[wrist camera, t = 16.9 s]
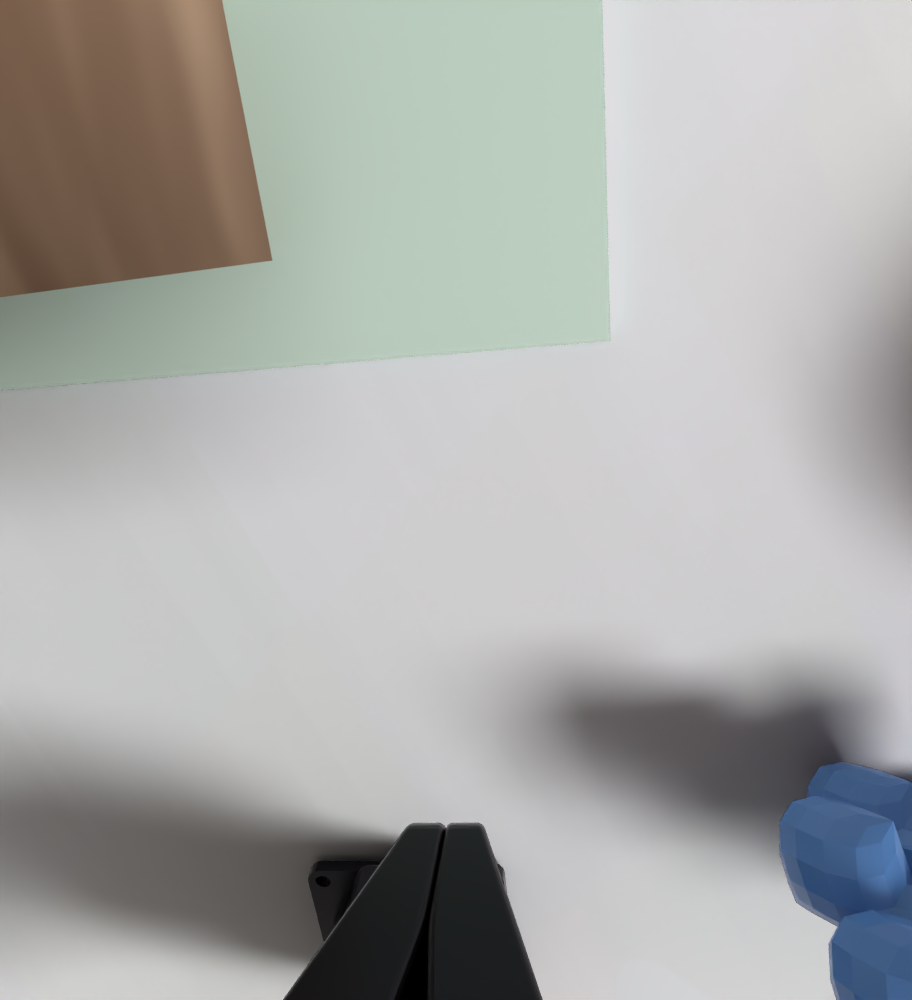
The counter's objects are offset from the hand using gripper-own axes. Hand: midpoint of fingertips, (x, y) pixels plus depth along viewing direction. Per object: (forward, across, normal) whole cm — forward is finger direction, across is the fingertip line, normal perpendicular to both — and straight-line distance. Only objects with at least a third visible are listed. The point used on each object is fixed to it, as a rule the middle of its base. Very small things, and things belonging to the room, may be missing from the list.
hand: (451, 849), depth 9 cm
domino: (+10, +4, -8) cm, 14 cm away
